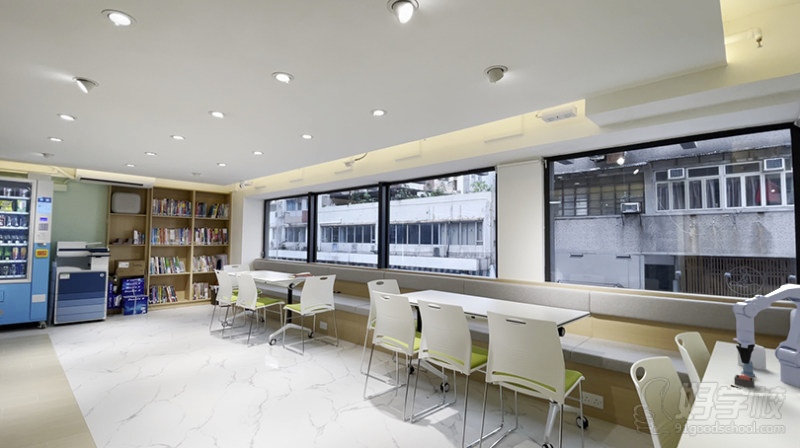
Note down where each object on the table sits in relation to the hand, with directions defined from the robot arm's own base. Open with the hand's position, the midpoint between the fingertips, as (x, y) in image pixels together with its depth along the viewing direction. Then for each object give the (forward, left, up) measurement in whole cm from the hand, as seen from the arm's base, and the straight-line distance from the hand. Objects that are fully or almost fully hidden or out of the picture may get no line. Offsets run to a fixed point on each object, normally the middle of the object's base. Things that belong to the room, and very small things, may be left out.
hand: (746, 361), depth 163 cm
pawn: (+8, -9, -8) cm, 14 cm away
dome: (-5, +5, -8) cm, 11 cm away
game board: (+2, -2, -9) cm, 10 cm away
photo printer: (+21, -24, -10) cm, 33 cm away
